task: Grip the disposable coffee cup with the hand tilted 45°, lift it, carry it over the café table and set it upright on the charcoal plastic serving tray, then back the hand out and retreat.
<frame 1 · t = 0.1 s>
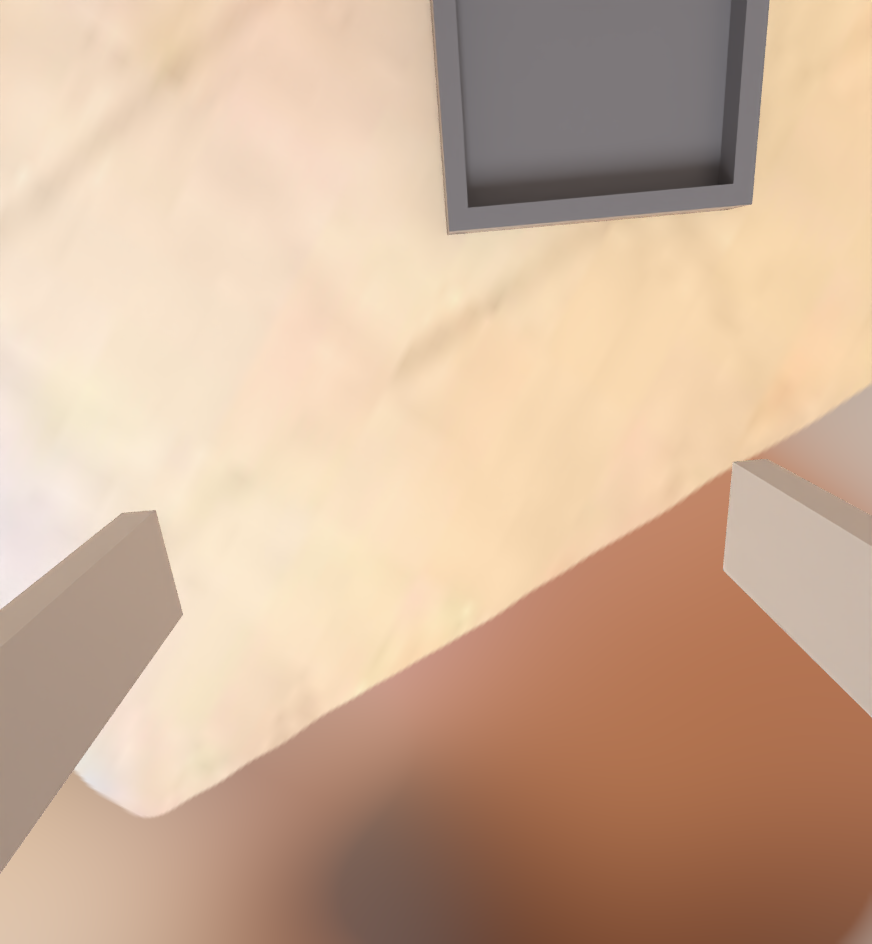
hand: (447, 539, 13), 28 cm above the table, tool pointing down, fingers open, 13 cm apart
charcoal serving tray: (586, 57, 34), on the table
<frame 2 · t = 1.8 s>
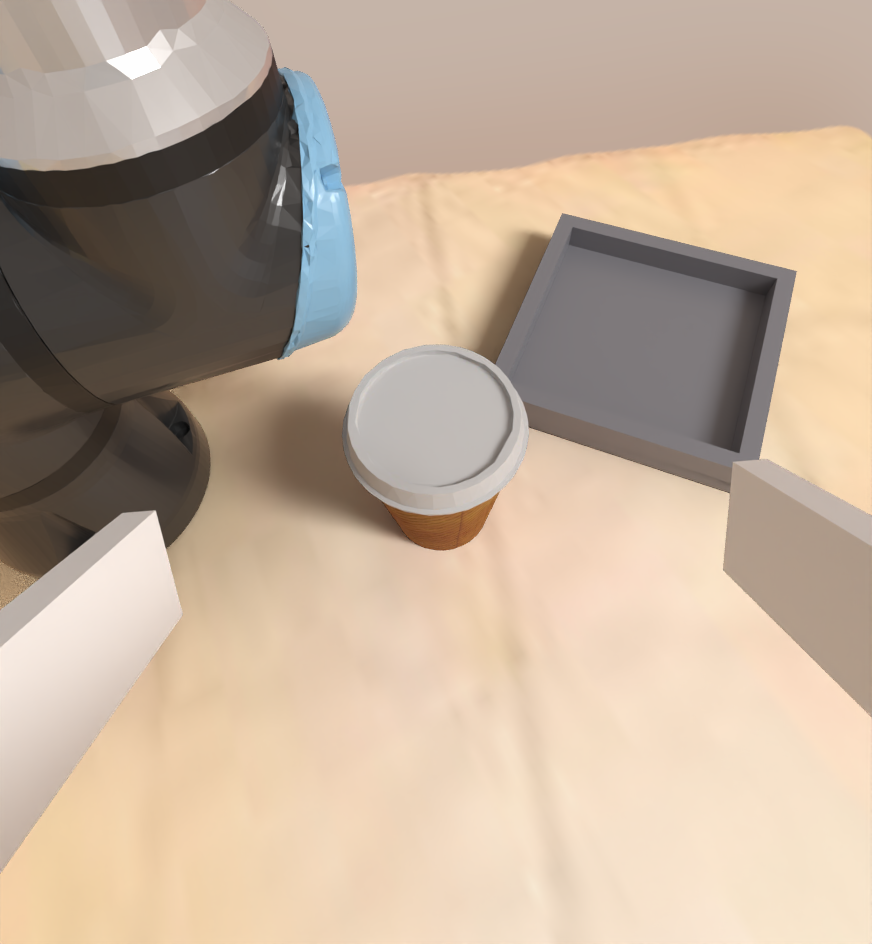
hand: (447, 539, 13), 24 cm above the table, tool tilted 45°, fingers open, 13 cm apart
disposable coffee cup: (441, 507, 39), on the table
charcoal serving tray: (635, 353, 44), on the table
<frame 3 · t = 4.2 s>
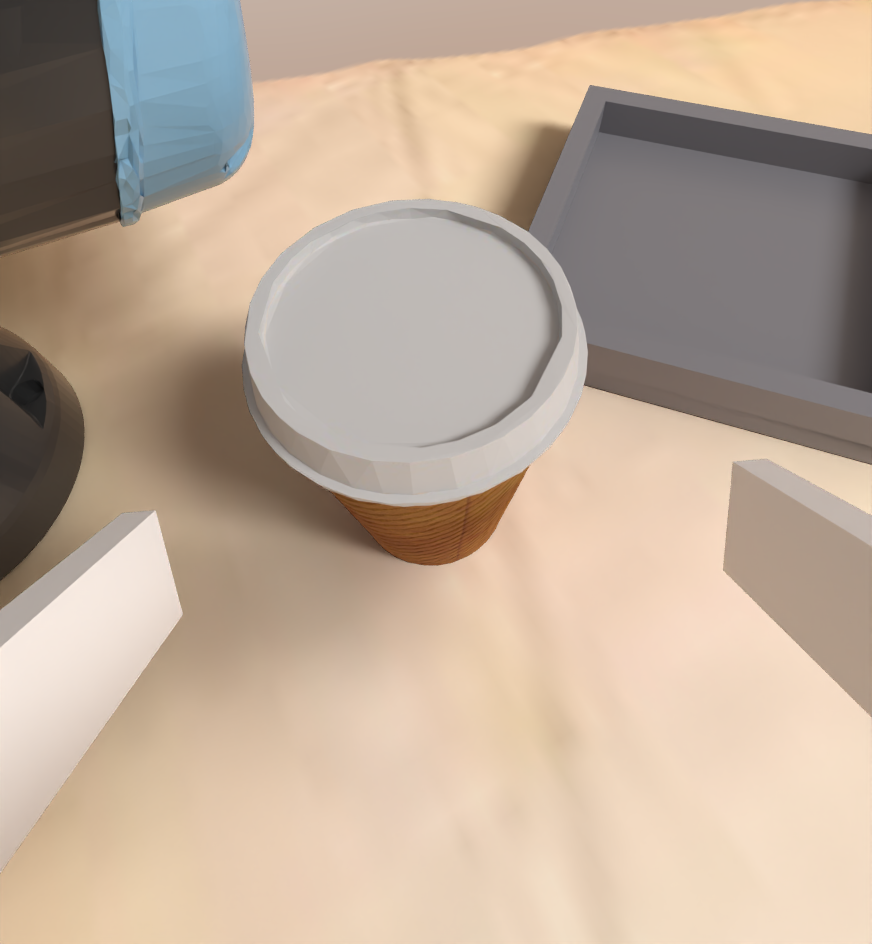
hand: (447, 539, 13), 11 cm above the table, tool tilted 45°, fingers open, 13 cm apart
disposable coffee cup: (432, 499, 26), on the table
charcoal serving tray: (703, 272, 31), on the table
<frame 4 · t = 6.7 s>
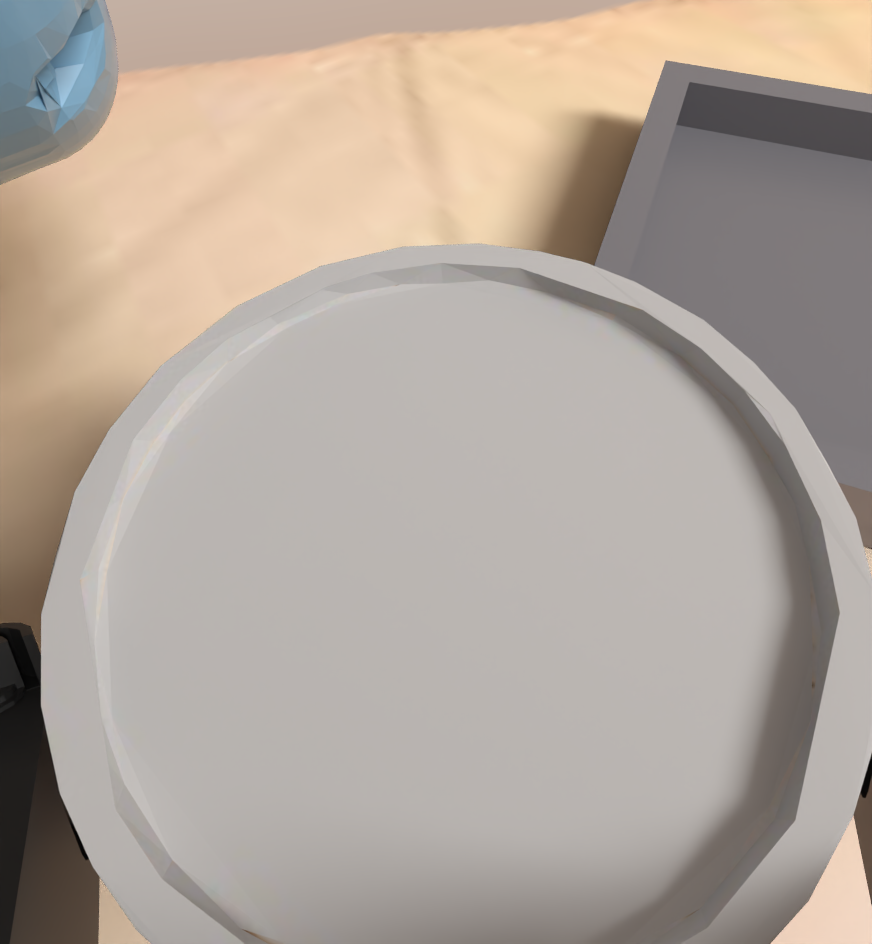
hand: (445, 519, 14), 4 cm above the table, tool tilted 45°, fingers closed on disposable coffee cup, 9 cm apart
disposable coffee cup: (458, 674, 17), on the table, touching gripper
charcoal serving tray: (833, 319, 22), on the table
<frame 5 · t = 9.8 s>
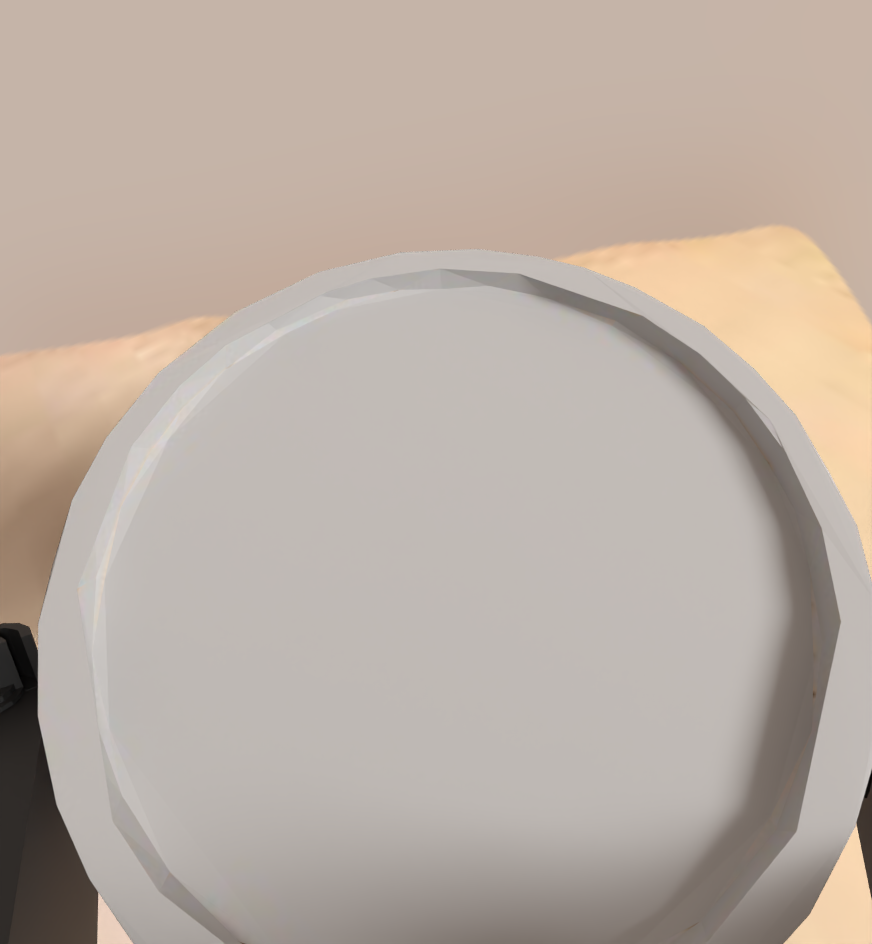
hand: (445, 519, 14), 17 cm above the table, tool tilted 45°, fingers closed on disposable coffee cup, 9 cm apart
disposable coffee cup: (458, 677, 17), point 12 cm above the table, touching gripper
when the fingers open (7 cm above the table, at t = 13.0 s): disposable coffee cup drops 1 cm, resting on charcoal serving tray.
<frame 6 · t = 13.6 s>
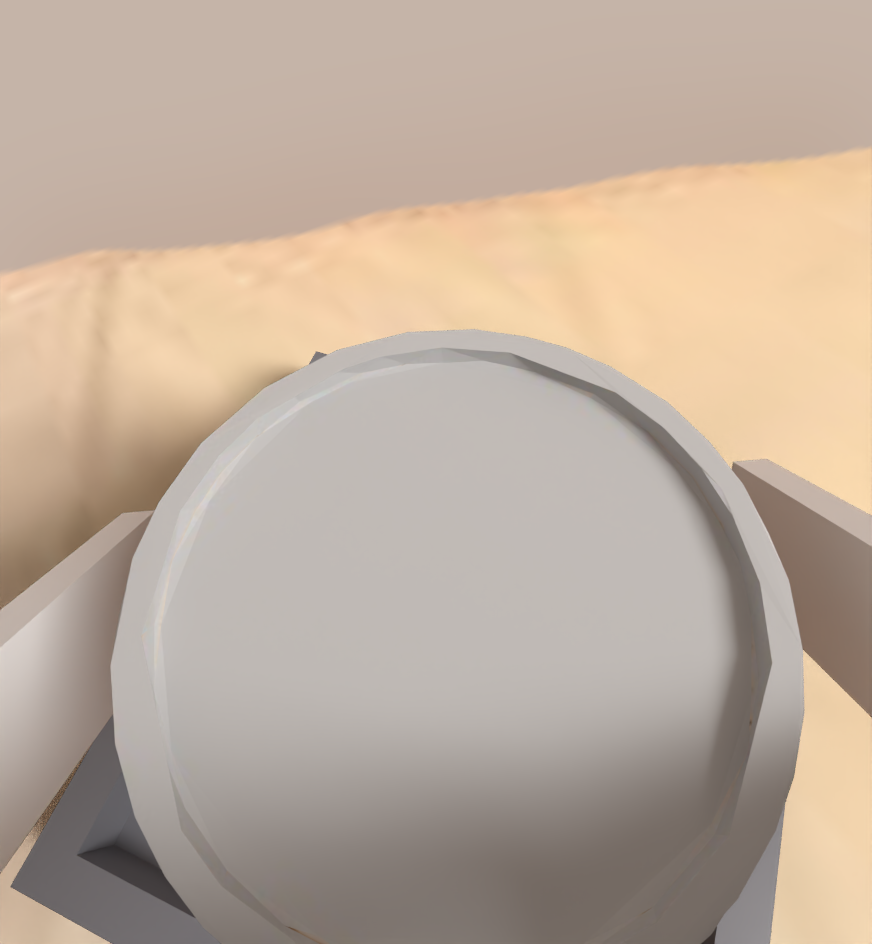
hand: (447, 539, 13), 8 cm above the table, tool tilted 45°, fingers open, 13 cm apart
disposable coffee cup: (458, 687, 18), point 1 cm above the table, touching charcoal serving tray
charcoal serving tray: (459, 682, 19), on the table
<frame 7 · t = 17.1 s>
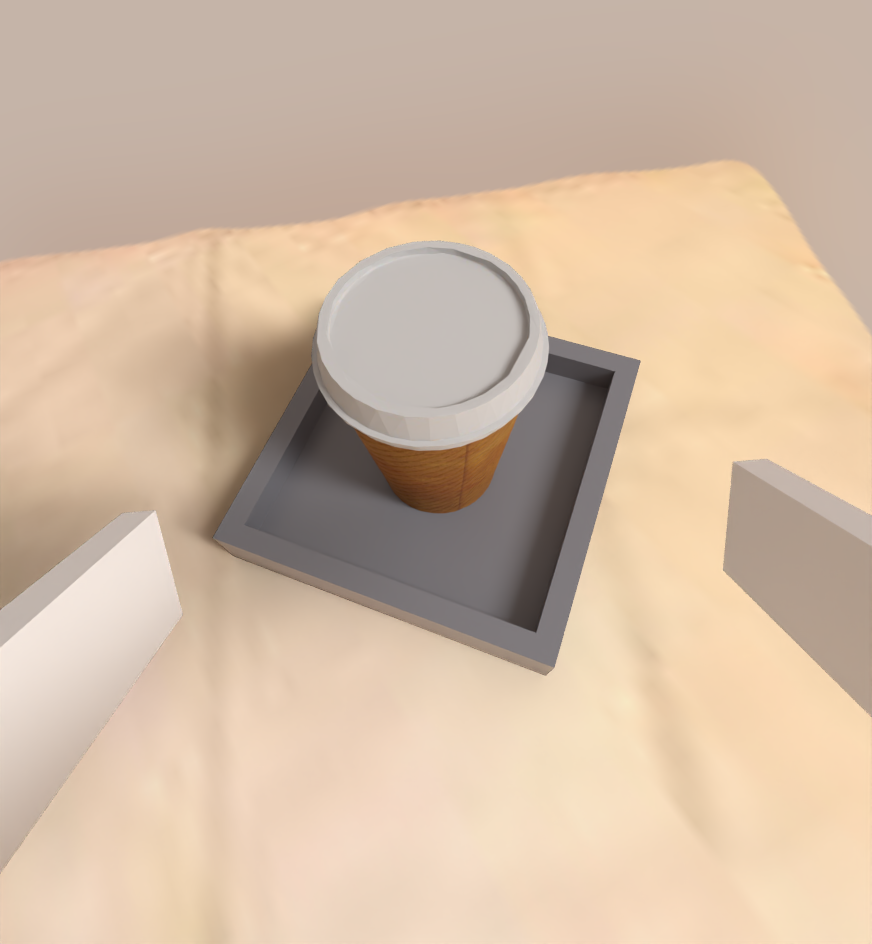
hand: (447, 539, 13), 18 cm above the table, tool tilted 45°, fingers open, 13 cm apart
disposable coffee cup: (439, 464, 33), point 1 cm above the table, touching charcoal serving tray
charcoal serving tray: (440, 468, 34), on the table
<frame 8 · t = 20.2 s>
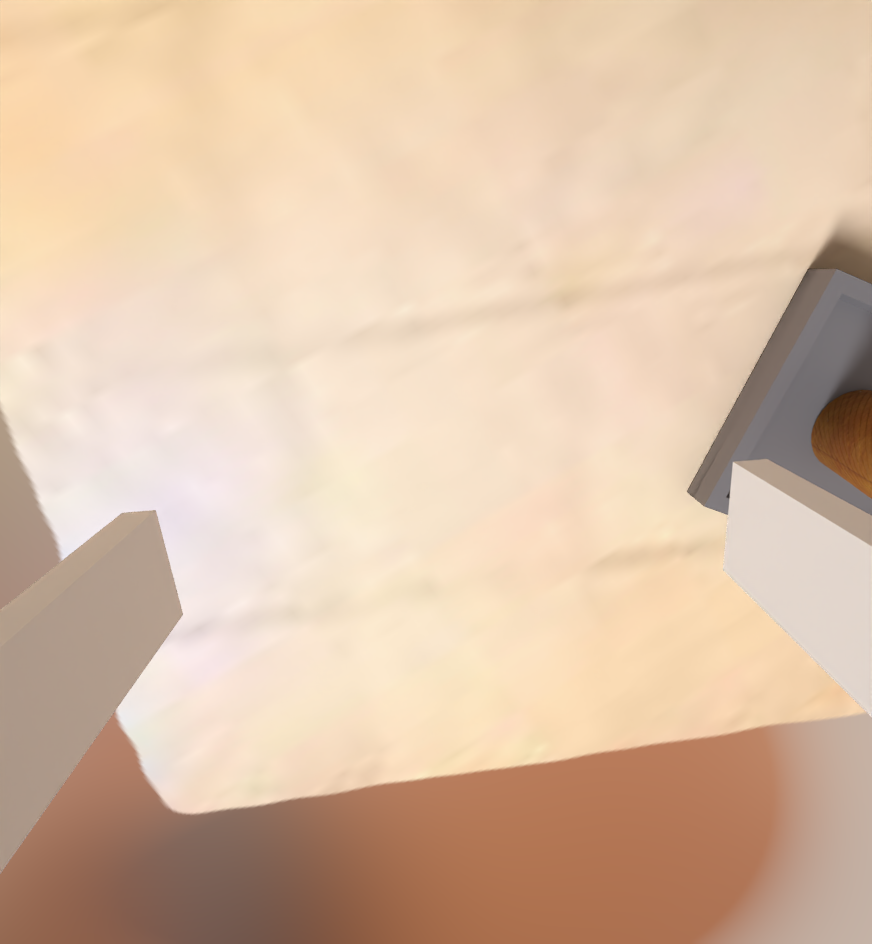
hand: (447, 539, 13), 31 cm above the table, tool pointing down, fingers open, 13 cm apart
disposable coffee cup: (850, 430, 44), point 1 cm above the table, touching charcoal serving tray
charcoal serving tray: (844, 427, 45), on the table
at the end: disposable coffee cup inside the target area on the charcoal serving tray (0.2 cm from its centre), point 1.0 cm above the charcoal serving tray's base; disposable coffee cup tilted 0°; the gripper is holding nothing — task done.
